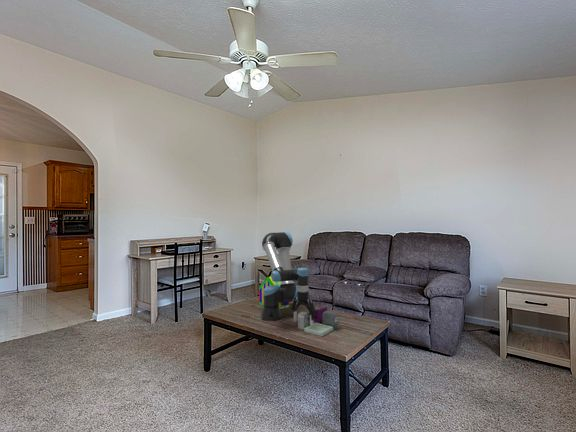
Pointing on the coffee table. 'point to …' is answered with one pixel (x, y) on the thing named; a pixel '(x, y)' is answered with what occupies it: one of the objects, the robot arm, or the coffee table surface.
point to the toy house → (268, 283)
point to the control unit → (330, 319)
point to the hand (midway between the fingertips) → (303, 322)
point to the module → (303, 320)
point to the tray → (318, 329)
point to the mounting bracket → (319, 315)
